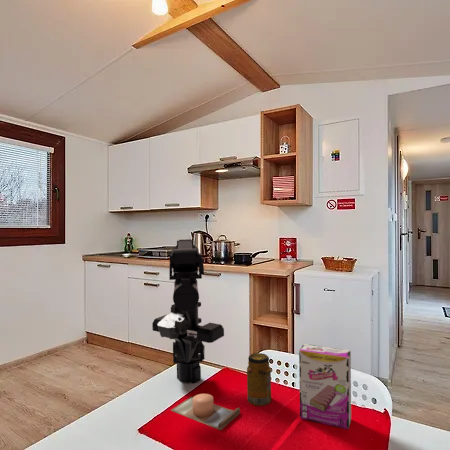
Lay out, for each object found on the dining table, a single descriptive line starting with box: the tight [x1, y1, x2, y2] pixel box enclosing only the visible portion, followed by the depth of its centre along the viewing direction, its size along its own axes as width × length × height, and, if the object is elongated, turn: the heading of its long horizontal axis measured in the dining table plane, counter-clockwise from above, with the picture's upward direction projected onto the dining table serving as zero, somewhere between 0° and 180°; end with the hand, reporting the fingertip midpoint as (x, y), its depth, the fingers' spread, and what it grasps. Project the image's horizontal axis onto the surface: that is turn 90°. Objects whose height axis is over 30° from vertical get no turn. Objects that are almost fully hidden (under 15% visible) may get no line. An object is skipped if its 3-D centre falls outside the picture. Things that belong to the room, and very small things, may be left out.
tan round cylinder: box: [193, 393, 214, 417], centre depth 84 cm, size 5×5×3 cm
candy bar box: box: [298, 343, 352, 430], centre depth 80 cm, size 11×5×16 cm, turn 65°
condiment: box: [246, 352, 272, 407], centre depth 88 cm, size 7×8×12 cm
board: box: [170, 395, 241, 431], centre depth 83 cm, size 15×8×2 cm, turn 56°
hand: (187, 361), depth 86 cm, fingers closed
